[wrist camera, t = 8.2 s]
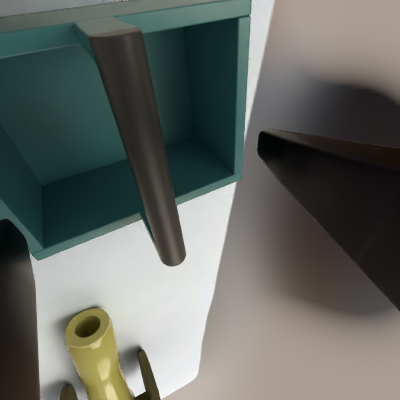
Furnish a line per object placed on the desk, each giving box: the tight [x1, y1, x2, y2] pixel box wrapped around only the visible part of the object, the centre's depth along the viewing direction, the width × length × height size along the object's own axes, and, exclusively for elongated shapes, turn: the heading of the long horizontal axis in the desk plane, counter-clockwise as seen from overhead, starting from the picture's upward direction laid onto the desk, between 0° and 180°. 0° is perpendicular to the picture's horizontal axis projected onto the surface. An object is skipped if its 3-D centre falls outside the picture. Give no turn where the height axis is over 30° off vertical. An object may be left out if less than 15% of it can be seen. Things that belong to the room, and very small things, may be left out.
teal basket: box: [0, 0, 251, 266], centre depth 11 cm, size 9×12×10 cm
